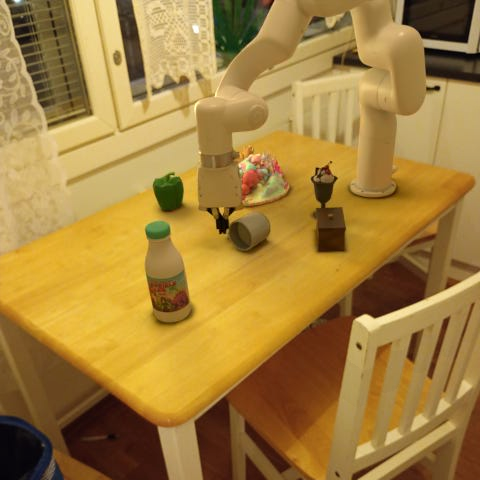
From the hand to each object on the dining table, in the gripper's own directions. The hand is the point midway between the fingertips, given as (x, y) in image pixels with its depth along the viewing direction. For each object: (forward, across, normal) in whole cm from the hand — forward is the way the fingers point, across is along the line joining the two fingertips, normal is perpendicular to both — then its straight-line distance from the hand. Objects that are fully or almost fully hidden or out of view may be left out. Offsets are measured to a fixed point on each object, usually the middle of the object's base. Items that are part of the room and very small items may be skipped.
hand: (223, 231), depth 128 cm
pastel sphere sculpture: (+3, -5, -34) cm, 34 cm away
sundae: (+3, -25, -14) cm, 29 cm away
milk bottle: (+4, +8, +28) cm, 29 cm away
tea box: (+3, -26, 0) cm, 26 cm away
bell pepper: (+4, +17, -22) cm, 28 cm away
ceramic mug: (+4, -6, 0) cm, 7 cm away
